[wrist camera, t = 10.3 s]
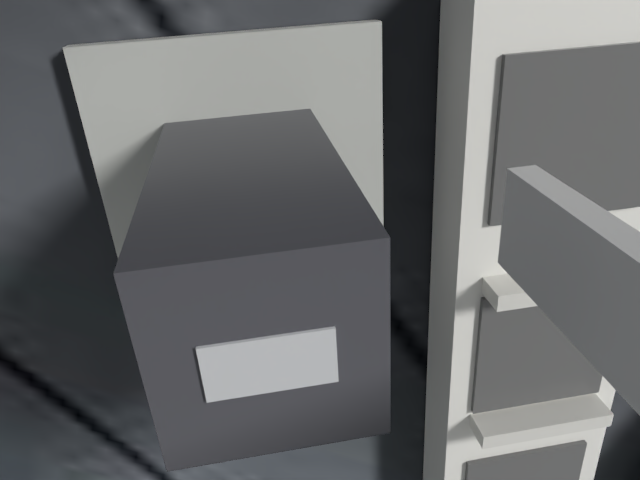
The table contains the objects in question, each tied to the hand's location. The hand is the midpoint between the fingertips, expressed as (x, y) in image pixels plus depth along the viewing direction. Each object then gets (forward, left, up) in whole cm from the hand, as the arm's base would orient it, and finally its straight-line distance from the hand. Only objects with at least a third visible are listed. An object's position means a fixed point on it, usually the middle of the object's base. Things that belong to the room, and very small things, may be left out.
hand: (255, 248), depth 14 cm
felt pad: (0, 0, -5) cm, 5 cm away
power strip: (+3, +10, -5) cm, 12 cm away
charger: (0, 0, -5) cm, 5 cm away
